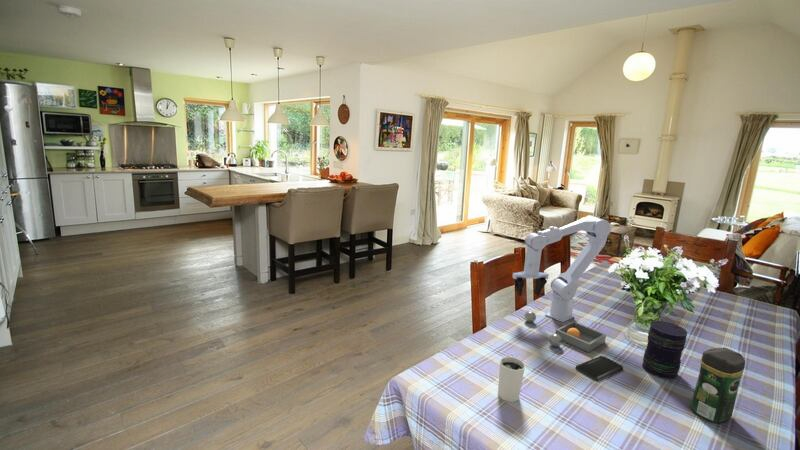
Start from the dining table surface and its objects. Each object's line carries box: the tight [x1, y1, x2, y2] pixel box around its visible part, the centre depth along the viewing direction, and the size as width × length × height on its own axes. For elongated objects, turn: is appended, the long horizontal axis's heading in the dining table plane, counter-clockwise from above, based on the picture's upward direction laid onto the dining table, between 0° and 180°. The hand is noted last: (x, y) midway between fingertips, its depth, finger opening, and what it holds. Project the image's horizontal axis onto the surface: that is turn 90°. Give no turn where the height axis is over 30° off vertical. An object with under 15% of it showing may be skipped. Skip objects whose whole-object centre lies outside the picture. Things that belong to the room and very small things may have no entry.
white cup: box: [497, 356, 526, 403], centre depth 108 cm, size 7×7×10 cm
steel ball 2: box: [548, 333, 563, 348], centre depth 137 cm, size 4×4×4 cm
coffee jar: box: [689, 346, 746, 424], centre depth 105 cm, size 10×8×19 cm
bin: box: [554, 320, 607, 354], centre depth 143 cm, size 13×13×3 cm
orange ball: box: [567, 328, 580, 338], centre depth 142 cm, size 4×4×4 cm
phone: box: [575, 355, 624, 382], centre depth 125 cm, size 8×1×15 cm
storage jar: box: [641, 320, 688, 380], centre depth 124 cm, size 10×10×15 cm
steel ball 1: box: [523, 310, 537, 324], centre depth 155 cm, size 4×4×4 cm
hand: (528, 295), depth 158 cm, fingers open, 7 cm apart
